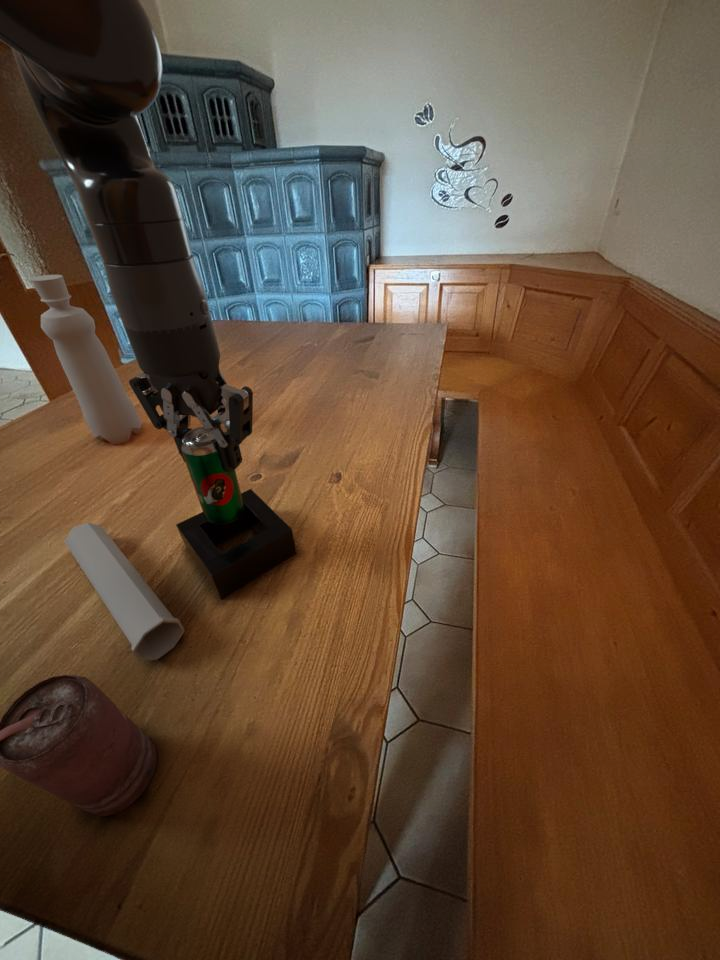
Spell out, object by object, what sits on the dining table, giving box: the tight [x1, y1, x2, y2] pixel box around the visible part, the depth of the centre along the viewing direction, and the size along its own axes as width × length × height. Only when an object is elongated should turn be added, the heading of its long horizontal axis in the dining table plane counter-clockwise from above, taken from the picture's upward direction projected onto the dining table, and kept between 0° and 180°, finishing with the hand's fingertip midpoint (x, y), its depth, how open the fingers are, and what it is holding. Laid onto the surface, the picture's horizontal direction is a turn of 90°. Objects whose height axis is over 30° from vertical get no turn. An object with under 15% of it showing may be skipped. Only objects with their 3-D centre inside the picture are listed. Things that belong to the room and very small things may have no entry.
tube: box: [64, 522, 185, 662], centre depth 49 cm, size 5×5×25 cm
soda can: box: [181, 426, 244, 525], centre depth 47 cm, size 5×5×12 cm
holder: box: [176, 488, 297, 600], centre depth 54 cm, size 12×12×5 cm
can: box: [0, 674, 157, 817], centre depth 31 cm, size 6×6×14 cm
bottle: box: [29, 274, 142, 445], centre depth 71 cm, size 9×9×30 cm
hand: (212, 463), depth 46 cm, fingers closed on soda can, 5 cm apart
